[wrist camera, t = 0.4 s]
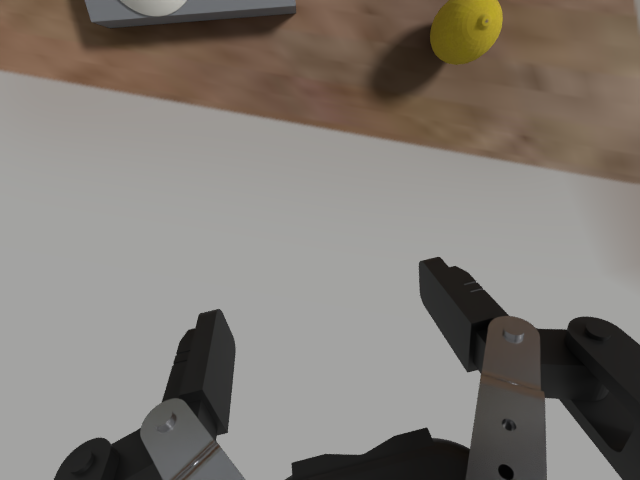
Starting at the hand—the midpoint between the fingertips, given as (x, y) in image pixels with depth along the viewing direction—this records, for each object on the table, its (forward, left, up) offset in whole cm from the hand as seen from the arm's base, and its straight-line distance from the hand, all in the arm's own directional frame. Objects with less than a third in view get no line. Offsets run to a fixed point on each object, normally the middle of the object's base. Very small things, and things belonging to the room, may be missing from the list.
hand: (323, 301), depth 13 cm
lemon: (-12, +15, -27) cm, 33 cm away
